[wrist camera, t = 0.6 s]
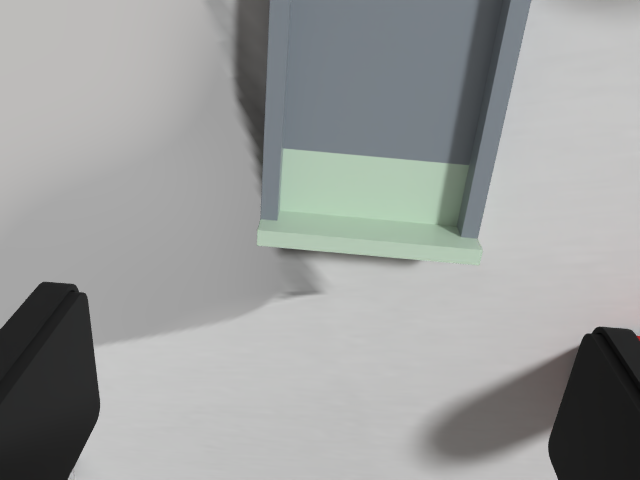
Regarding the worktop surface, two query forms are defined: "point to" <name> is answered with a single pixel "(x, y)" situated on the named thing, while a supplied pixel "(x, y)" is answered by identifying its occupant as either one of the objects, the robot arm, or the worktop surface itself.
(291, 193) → the channel
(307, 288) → the worktop surface
